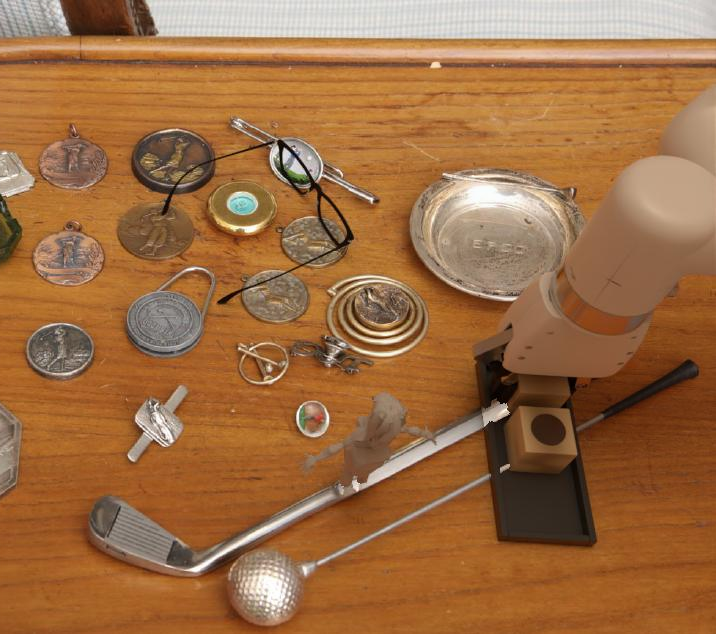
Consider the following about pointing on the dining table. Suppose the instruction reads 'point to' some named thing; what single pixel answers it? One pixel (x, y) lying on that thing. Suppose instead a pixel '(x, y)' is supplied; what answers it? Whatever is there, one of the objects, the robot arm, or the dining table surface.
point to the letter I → (539, 392)
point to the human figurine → (370, 440)
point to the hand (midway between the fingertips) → (526, 392)
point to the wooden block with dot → (539, 440)
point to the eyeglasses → (314, 185)
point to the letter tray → (535, 489)
